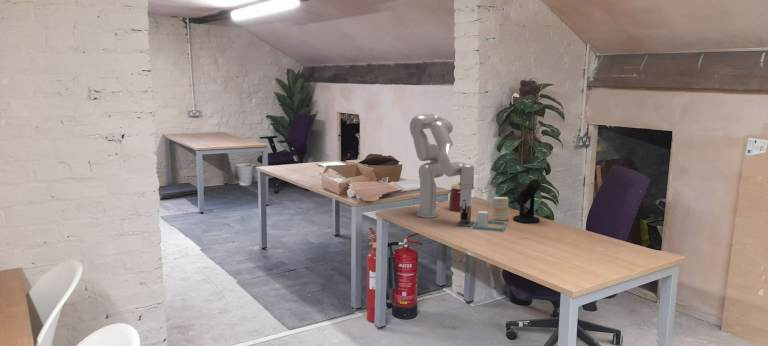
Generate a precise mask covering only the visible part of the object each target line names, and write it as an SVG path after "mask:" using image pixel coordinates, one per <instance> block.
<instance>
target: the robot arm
mask: <svg viewBox="0 0 768 346" xmlns="http://www.w3.org/2000/svg"><path fill="white" fill-rule="evenodd" d="M427 129H428V130H429V129H430V131H431V134H432V136H433V139H434V141H435V143H436V144H435V143H430V142H429V138H428V135H427V134H426V132H425V131H424V130H427ZM453 130H454V127H453V124H452V122H451V121H450V120H449V119H447V118H444V117H442V116H439V115H437V114H434V113H430V114H429V113H426V114H425V113H424V114H418V115H417V114H416V115H415V116H414V117H413V118H411V120H410V122H409V132H410V134H411V136H412V140H413V144H414V149H415V152H416V156H417V159H418V160H419V161H421V162H426V163H423V164H420V167H419V168H418V178H419V206H418V207H415V206H414V207H413V208H412V211H413V212H416V216H417V217H419V218H423V219H425V218H426V219H431V218H437V217H438V216H439V213H438V212H436V211H437V209H436V208H437V206H436V205H437V184H436V182H435V178H436V179H437V178H441V177H442V176H444V175H445V176H446V177H448V178H449V177H456V176H459V182H460V189H461V194H460V207H461V206H462V219H466V220H467V219H468V212H467V208H468V207H469V206H471V204H472V193H473V192H472V190H474V186H475V184H474V181H475V179H474V178H475V166H474V164H471V163H465V162H462V161H455V162H451V160H450V157H449V152H450V151H449V150H450V149H451V148H452V147H453V145H454V144H453V140H452V138H451V136H450V134H451V133H452V132H453ZM427 161H429V162H427ZM465 206H467V207H465Z"/></svg>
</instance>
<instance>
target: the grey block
mask: <svg viewBox="0 0 768 346" xmlns="http://www.w3.org/2000/svg"><path fill="white" fill-rule="evenodd" d="M488 218H489V211H487V210H478V212H477V219H476V220H477V225H476V226H482V227H488V225H489V224H488V221H489V219H488Z"/></svg>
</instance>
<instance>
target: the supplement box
mask: <svg viewBox="0 0 768 346" xmlns="http://www.w3.org/2000/svg"><path fill="white" fill-rule="evenodd" d="M509 199H510V198H508V196H493V204H492V205H493V207H492V213H493V214H492V219H493V221H508V220H509V201H510V200H509Z"/></svg>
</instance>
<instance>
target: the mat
mask: <svg viewBox="0 0 768 346" xmlns="http://www.w3.org/2000/svg"><path fill="white" fill-rule="evenodd" d="M474 223H475V221H473V220H470V222H460V220H459V221H458V222H457V223H456V227H464V228H465V227H466V228H472V227H471V226H473V224H474Z"/></svg>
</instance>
